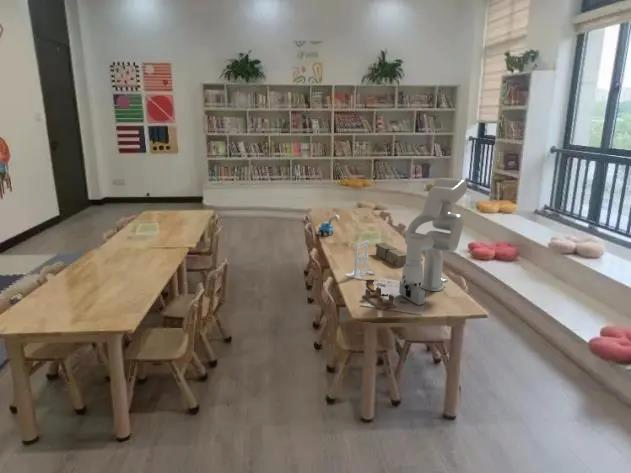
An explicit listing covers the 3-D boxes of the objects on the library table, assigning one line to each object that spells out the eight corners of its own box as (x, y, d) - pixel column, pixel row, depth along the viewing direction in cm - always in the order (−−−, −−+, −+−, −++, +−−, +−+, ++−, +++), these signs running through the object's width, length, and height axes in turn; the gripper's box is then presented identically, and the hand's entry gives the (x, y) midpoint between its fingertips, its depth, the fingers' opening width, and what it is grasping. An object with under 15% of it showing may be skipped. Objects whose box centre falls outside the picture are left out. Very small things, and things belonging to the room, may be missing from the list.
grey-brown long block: (408, 267, 288) (384, 253, 314) (409, 254, 286) (385, 241, 312) (397, 268, 286) (374, 254, 311) (398, 255, 283) (375, 242, 309)
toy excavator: (334, 238, 349) (335, 216, 345) (316, 235, 358) (316, 213, 353) (340, 236, 356) (341, 214, 352) (322, 233, 365) (322, 211, 360)
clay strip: (404, 292, 241) (405, 279, 240) (424, 303, 228) (424, 290, 226) (399, 293, 240) (399, 281, 238) (418, 305, 226) (419, 291, 224)
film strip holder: (355, 269, 279) (356, 237, 274) (375, 274, 272) (377, 241, 266) (342, 275, 268) (344, 242, 263) (363, 280, 260) (365, 246, 255)
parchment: (394, 296, 239) (394, 294, 239) (377, 297, 237) (377, 295, 237) (377, 280, 263) (377, 279, 262) (360, 281, 260) (361, 279, 260)
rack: (376, 294, 240) (376, 285, 239) (396, 307, 225) (397, 297, 223) (362, 297, 237) (362, 287, 235) (381, 310, 221) (382, 300, 220)
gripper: (422, 257, 235) (419, 290, 240) (395, 261, 228) (393, 296, 233) (431, 261, 229) (429, 296, 234) (404, 266, 222) (402, 301, 227)
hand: (411, 295), depth 233 cm, fingers closed on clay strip, 3 cm apart
